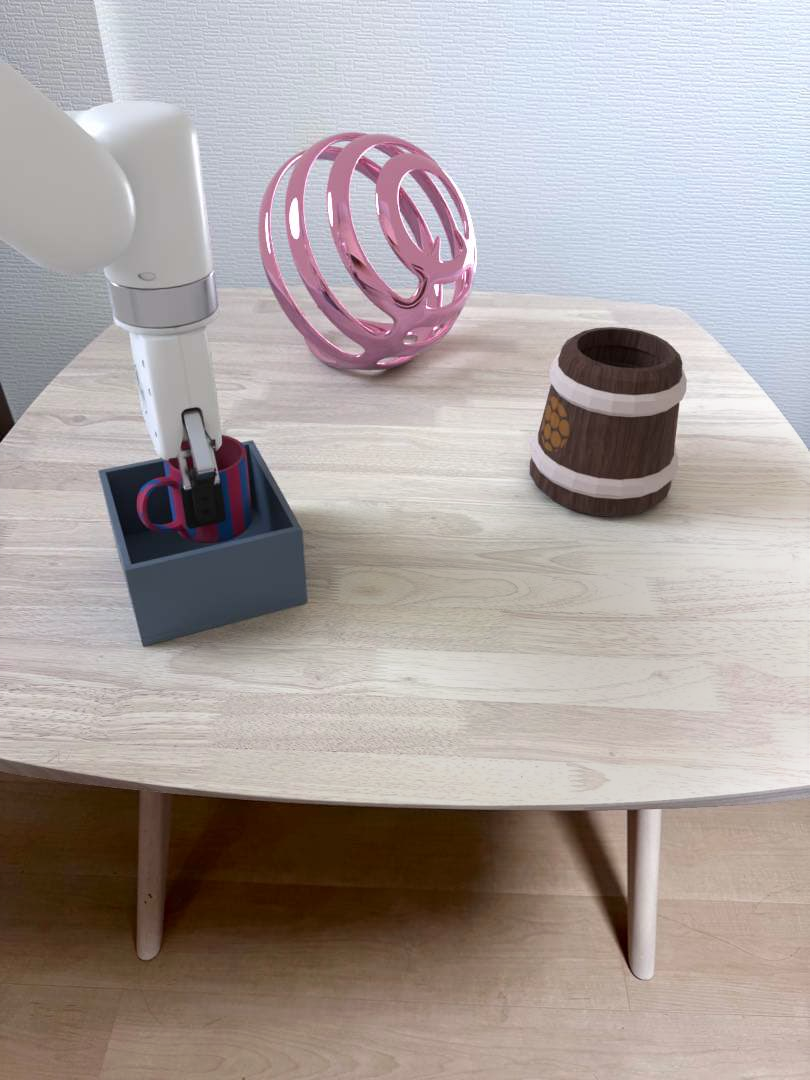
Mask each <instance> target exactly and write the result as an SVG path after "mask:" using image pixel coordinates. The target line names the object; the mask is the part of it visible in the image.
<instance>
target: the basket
mask: <svg viewBox="0 0 810 1080" xmlns="http://www.w3.org/2000/svg"><path fill="white" fill-rule="evenodd" d="M240 442H241V443H242V444H243V445H244V446H245V448H246V455H247V466H248V476H249V487H250V497H251V508H252V522H251V524H250V526H249V527H248V528H247V530H246V531H244V532H243V533H242V534H240V535H239V536H237V537H235V538H233V539H230V540H227V541H223V542H218V543H199V542H194V541H191V540H188V539H186V538H184V537H182V536H181V535H180V534H179V533H178V532H172V533H159V532H155V531H153V530H151V529H149V528H147V527H146V526H145V525H144V524H143V522H142V521H141V519H140V517H139V515H138V511H137V497H138V494H139V492H140V490H141V488H142V487H143V486H144V485H145V484H146V483H148V482H149V481H151V480H153V479H156V478H160V477H166V473H165V467H164V461H163V459H162V458H160V457H158V458H155V459H149V460H145V461H139V462H134V463H129V464H124V465H119V466H113V467H108V468H103V469H99V470H98V471H97V472H98V476H99V481H100V484H101V489H102V493H103V497H104V501H105V505H106V509H107V513H108V518H109V522H110V526H111V530H112V534H113V538H114V542H115V547H116V550H117V554H118V558H119V562H120V566H121V569H122V573H123V577H124V580H125V584H126V588H127V592H128V596H129V599H130V603H131V606H132V607H131V608H132V611H133V614H134V618H135V621H136V622H135V623H136V626H137V629H138V633H139V637H140V641H141V645H142V647H146V646H150V645H153V644H157V643H161V642H165V641H169V640H172V639H176V638H181V637H184V636H187V635H191V634H195V633H199V632H202V631H207V630H210V629H214V628H218V627H222V626H225V625H229V624H233V623H237V622H240V621H244V620H247V619H251V618H255V617H259V616H264V615H267V614H271V613H274V612H278V611H282V610H285V609H291V608H293V607H296V606H301V605H303V604H304V605H305V604H308V590H307V589H308V588H307V575H306V561H305V548H304V547H305V546H304V533H303V532H304V531H303V527H302V525H301V523H300V522H299V521H298V519H297V516H296V515H295V513H294V512H293V510H292V508H291V506H290V504H289V502H288V501H287V499H286V498H285V496H284V495H285V494H284V493H283V492H282V489H281V488H280V486H279V485H278V482H277V481H276V479H275V477H274V475H273V474H272V471H271V470H270V469H269V467H268V464H267V463H266V461H265V459H264V457H263V456H262V454H261V451H260V450H259V448H258V447H257V445H256V442H255V441H254V440H253V439H252V440H247V441H240ZM147 514H148V518H149V520H150V522H151V523H153V524H157V525H163V524H168V523H171V522H173V516H172V510H171V504H170V498H169V491H168V486H161V487H158V488H156V489H155V490H153V492H152V493H151V494H150V496H149V497H148V501H147Z"/></svg>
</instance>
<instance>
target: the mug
mask: <svg viewBox="0 0 810 1080" xmlns="http://www.w3.org/2000/svg"><path fill="white" fill-rule="evenodd" d="M548 373H549V374H548V376H549V378H548V379H549V382H550V386H549V391H548V393H547V397H546V402H545V406H544V410H543V413H542V417H541V421H540V425H539V426H538V428H537V429H536V431H535V432H534V434H533V435H532V438H531V440H530V443H529V445H530V446H529V456H530V461H529V476H530V478H531V479H532V481H533V483H534V485H535V486H536V487H537V488H538V490H539V491H541V493H543V494H544V495H545V496H547V497H548V498H549V499H550V500H552V501H553V502H554V503H557V504H559V505H560V506H562V507H565V508H567V509H568V510H569V509H570V510H571V511H575V512H578V513H582V514H586V515H589V516H599V517H608V518H609V517H610V518H614V517H625V516H633V515H636V514H639V513H641V512H644V511H647V510H650V509H652V508H654V507H657V506H658V505H659V504H660V503H661V502H663V501H664V500H665V499H667V498H668V494H669V492H670V489H671V487H672V481H673V479H674V478H675V475H676V474H677V470H678V467H679V457H678V453H677V449H676V446H675V445H676V437H677V430H678V429H677V428H678V421H679V420H678V419H679V411H680V403H681V401H683V399H684V397H685V394H686V392H687V384H688V383H687V381H688V379H687V375H686V373H685V370H684V369H683V360H682V357H681V354H680V353H679V351H677V350H676V349H675V348H674V347H673V345H671V344H670V343H669V342H668V341H667V340H665V339H663V338H661V337H659V336H658V335H655V334H652V333H649V332H647V331H643V330H639V329H634V328H629V327H618V326H617V327H616V326H606V327H595V328H591V329H586V330H583V331H581V332H579V333H577V334H575V335H573V336H572V337H570V338H568V339H567V340H566V341H565V343H564V344H563V345H562V347H561V350H560V352H559V353H558V354H556V356H555V358H554V359H553V360H552V361H551V365H550V367H549V371H548Z"/></svg>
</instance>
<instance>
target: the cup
mask: <svg viewBox="0 0 810 1080" xmlns="http://www.w3.org/2000/svg"><path fill="white" fill-rule="evenodd" d="M241 442H242V441H240V440H239V439H237V438H234V437H232V436H229V435H224V434H222V445H221V446H220V448H219V449H218V450H217V451H215V450H214V455H215V459H216V464H217V469H218V474H219V477H220V479H221V484H222V491H223V499H224V506H225V513H226V520H225V521H223V522H220V523H216V524H211V525H207V526H202V527H198V528H193V529H189V528H188V527H187V525H186V522H185V516H184V510H183V505H182V499H181V493H180V487H179V485H183V483H182V478H181V474H180V469H179V465H178V460H177V457H176V458H170V459H169V460H167V461H165V460H163V461H164V467H165V473H166V477H160V478H156V479H153V480H151V481H149V482H148V483H146V484H145V485H144V486H143V487H142V488H141V490H140V492H139V494H138V497H137V511H138V515H139V517H140V519H141V521H142V522H143V524H144V525H145V526H146V527H147V528H149V529H151V530H153V531H155V532H159V533H172V532H178V533H179V534H180V535H181V536H182V537H184V538H186V539H188V540H191V541H194V542H199V543H218V542H223V541H227V540H230V539H233V538H235V537H237V536H239V535H240V534H242V533H243V532H244V531H246V530H247V528H248V527H249V526H250V524H251V522H252V508H251V497H250V487H249V476H248V466H247V455H246V448H245V446H244V445H243V444H242V443H241ZM187 448H190V446H189V442H188V441H185V442H182V443H181V450H182V449H187ZM213 449H214V448H213ZM186 463H187V467H188V472H190V469H191V468H194V466H193V458H192V457H188V458H186ZM161 486H168V491H169V498H170V504H171V510H172V516H173V522H171V523H168V524H163V525H157V524H153V523H151V522H150V520H149V518H148V514H147V501H148V497H149V496H150V494H151V493H152V492H153V490H155V489H156V488H158V487H161Z"/></svg>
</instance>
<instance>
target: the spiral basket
mask: <svg viewBox="0 0 810 1080" xmlns="http://www.w3.org/2000/svg"><path fill="white" fill-rule="evenodd" d="M343 142H348V143H346V145H344V146H343V147H340V146H334V145H335V144H337V143H343ZM371 149H375V150H377V151H380V152H381V153H383V154H385V155H386V156H387V157H389V159H388V160H387V161H385V163H384V165H383V166H381V165H380V164H378V163H376V162H375V161H374V160H372V159H371V158H368V157H366V156H365V153H366V152H368V151H369V150H371ZM403 149H404V150H405V151H406V152H405V151H404V150H403ZM319 160H320V161H330V162H333V163H332V165H331V168H330V171H329V174H328V179H327V184H326V213H327V218H328V219H327V220H328V224H329V230H330V233H331V237H332V239H333V243H334V245H335V248H336V251H337V254H338V255H339V258H340V259H341V262H342V263H343V266H344V267H345V270H346V271H347V272H348V273H347V274H349V276H350V277H351V279H352V280H353V282H354V283H355V285H356V286H357V288H358V289H359V290H360V291H361V293H362V294H363V295H364V296H365V297H366V298H367V299H368V300H369V301H370V302H371V303H372V304H373V306H375V307H377V308H378V310H380V311H381V312H383V313H385V314H386V315H387V316H388V317H390V318H391V320H392V321H393V322H380V321H372V320H367V319H361V318H357V317H354V316H353V314H351V312H349V311H348V310H347V308H346V307H344V305H343V304H342V302H341V301H340V300H339V299H338V298H337V296H336V295H335V294H334V292H333V290H332V289H331V287H330V286H329V285H328V283H327V281H326V279H325V277H324V275H323V274H322V272H321V270H320V268H319V265H318V263H317V261H316V258H315V255H314V253H313V249H312V247H311V243H310V240H309V236H308V231H307V225H306V219H305V191H306V185H307V181H308V177H309V174H310V171H311V170H312V167H313V165H314V163H315V162H316V161H319ZM292 168H293V169H292ZM291 169H292V171H291V174H290V177H289V179H288V183H287V188H286V193H285V201H284V221H285V231H286V236H287V241H288V246H289V249H290V253H291V256H292V260H293V262H294V265H295V268H296V270H297V272H298V275H299V277H300V279H301V281H302V283H303V285H304V286H305V287H304V288H306V290H307V292H308V294H309V295H310V297H311V299H312V301H314V303H315V305H316V306H317V309H319V310H320V311H321V312H322V314H323V315H324V316H325V317H326V319H327V320H329V322H330V323H331V324H332V325H333V326H334V327H335V328H336V329H338V331H339V332H341V333H342V334H343V335H344V336H346V337H347V338H348V339H349V340H351V341H352V342H354V343H356V344H357V345H359V346H360V347H361V348H362V349H364V351H363V352H362V353H358V354H352V353H348V352H346V351H344V350H342V349H341V348H339V347H337V346H336V345H334V343H332V342H330V341H329V340H328V339H327V338H326V337H325V336H323V335H322V334H321V333H320V332H319V331H318V330H317V329H316V328H315V327H314V326H313V324H312V323H311V322H310V321H309V320H308V319H307V318H306V315H305V313H304V312H303V311H302V310H301V309H300V308H299V306H298V305H297V303H296V302H295V299H294V298H293V297H292V295H291V293H290V291H289V289H288V287H287V284H286V283H285V279H284V278H283V275H282V274H281V270H280V267H279V265H278V262H277V256H276V253H275V248H274V244H273V235H272V210H273V204H274V200H275V195H276V192H277V190H278V187H279V185H280V182H281V181H282V179H283V178H284V177H285V175H286V174H287V173H288V172H289V171H290V170H291ZM354 171H357V172H358V173H360V174H362V175H363V176H365V177H366V178H367V179H369V180H370V181H371V182H372V183H374V184H375V194H374V195H375V196H374V197H375V209H376V215H377V219H378V222H379V225H380V228H381V231H382V233H383V236H384V238H385V240H386V242H387V244H388V246H389V247H390V249H391V250H392V252H393V254H394V255H395V256H396V258H397V259H398V260H399V262H400V263H401V264H402V265H403V266H404V267H405V268H406V269H407V270H408V271H409V272H410V273H411V274H414V276H415V277H417V279H418V284H417V287H416V289H415V291H414V293H413V294H412V295H411V296H410V297H409V298H405V297H403V296H401V295H399V294H398V293H397V292H396V291H395V290H393V289H392V287H390V286H389V285H388V284H387V283H386V282H385V281H384V280H383V278H382V277H381V276H380V275H379V274H378V272H377V271H376V269H375V268H374V267H373V265H372V264H371V262H370V261H369V258H368V257H367V255H366V253H365V252H364V249H363V247H362V245H361V243H360V240H359V238H358V235H357V232H356V229H355V226H354V221H353V217H352V212H351V202H350V199H351V198H350V197H351V196H350V195H351V194H350V193H351V182H352V177H353V174H354ZM408 174H409V175H410V176H411V178H412V179H413V180H414V181H415V182H416V183H417V184H418V186H419V187H420V188H421V189H422V191H423V193H424V194H425V195H426V197H427V199H428V200H429V202H430V203H431V205H432V207H433V209H434V210H435V212H436V214H437V216H438V218H439V221H440V223H441V226H442V228H443V230H444V233H445V236H446V239H447V243H448V246H449V250H450V254H451V255H450V256H451V259H449V260H445V261H444V260H443V261H442V260H441V237H440V235H437V236H436V238H435V239H433V236H432V233H431V231H430V229H429V227H428V225H427V222H426V221H425V219H424V216H423V215H422V213H421V211H420V210H419V208H418V207H417V205H416V203H415V202H414V200H413V199H412V198H411V196H410V195H409V193H408V192H407V191H406V190H405V188H404V187H403V186H402V185H401V184H402V182H403V179H404V178H405V177H406V176H407V175H408ZM429 174H431V175H433V176H434V177H435V178H437V179H438V180H439V181H440V182H441V184H442V186H443V187H444V188H445V190H446V192H447V193H448V195H449V196H450V199H451V200H452V202H453V204H454V206H455V208H456V211H457V213H458V216H459V218H460V220H461V221H460V222H461V223H462V227H463V234H462V232H461V231H459V229H458V226H457V223H456V221H455V218H454V216H453V213H452V211H451V209H450V207H449V205H448V203H447V201H446V199H445V197H444V196H443V194H442V192H441V191H440V188H438V186H437V185H436V183H435V181H433V179H432V177H430V175H429ZM402 217H403V218H402ZM403 219H404V221H405V222H406V223H407V225H408V227H409V229H410V231H411V233H412V235H413V237H414V240H415V241H414V240H413V238H412V237H411V236H410V235H411V234H410V233H409V232H408V230H407V228H406V226H405V223H404V221H403ZM257 221H258V224H257V233H258V236H257V237H258V244H259V245H258V247H259V252H260V259H261V263H262V266H263V270H264V274H265V276H266V279H267V281H268V284H269V286H270V289H271V291H272V293H273V295H274V297H275V299H276V301H277V303H278V305H279V306H280V308H281V309H282V311H283V313H284V314H285V316H286V318H288V320H289V322H290V323H291V324H292V325H293V327H294V328H295V329H296V330H297V332H298V333H299V334H300V335H301V336H302V337H303V339H304V341H305V344H306V346H307V347H308V349H309V351H310V352H311V353H312V355H313V356H314V357H315V358H316V359H317V360H319V361H320V362H322V363H324V364H325V365H327V366H329V367H332V368H335V369H340V370H351V371H383V370H384V371H385V370H389V369H394V368H397V367H399V366H402V365H404V364H407V363H408V362H410V361H411V360H413V359H414V358H415V357H417V356H418V355H419V354H422V353H425V352H426V351H428V350H430V349H432V348H433V347H435V346H436V345H437V344H438V343H440V341H442V340H443V339H444V338H445V337H446V336H447V335H448V333H449V332H450V331H451V329H452V328H453V326H454V325H455V323H456V321H457V319H458V318H459V316H460V315H461V313H462V311H463V310H464V308H465V306H466V304H467V302H468V300H469V298H470V296H471V293H472V290H473V287H474V282H475V278H476V270H477V244H476V238H475V237H476V236H475V232H474V225H473V221H472V216H471V214H470V210H469V207H468V204H467V202H466V200H465V198H464V196H463V194H462V192H461V191H460V189H459V187H458V186H457V183H455V181H454V180H453V179H452V177H451V176H450V175H449V173H448V172H446V171H445V169H443V168H442V167H441V166H440V164H439V163H438V162H437V161H436V160H435V159H434V158H433V157H431V155H429V154H428V153H427V152H425V151H424V150H423V149H422V148H420V147H418V146H417V145H416V144H414V143H413V142H412V143H411V142H410V141H408V140H406V139H403V138H401V137H398V136H395V135H390V134H386V133H365V132H357V131H348V132H339V133H334V134H331V135H329V136H325V137H324V138H321V139H319V140H317V141H316V142H315V143H313V144H312V145H311V146H309V147H308V148H307V149H303V150H301V151H299V152H297V153H295V154H294V155H292V156H291V157H289V158H288V159H287V160H285V162H283V164H282V165H280V167H278V169H277V170H276V171H275V173H274V174H273V176H272V177H271V179H270V180H269V182H268V184H267V186H266V188H265V190H264V193H263V196H262V199H261V203H260V208H259V213H258V220H257ZM415 242H416V243H415ZM452 283H453V296H452V299H451V302H450V303H448V304H446V305H443V285H448V284H452ZM405 338H416V339H415V341H414V342H412V343H411V342H405ZM389 358H395V359H393V360H388V361H382V360H384V359H385V360H386V359H389Z"/></svg>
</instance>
